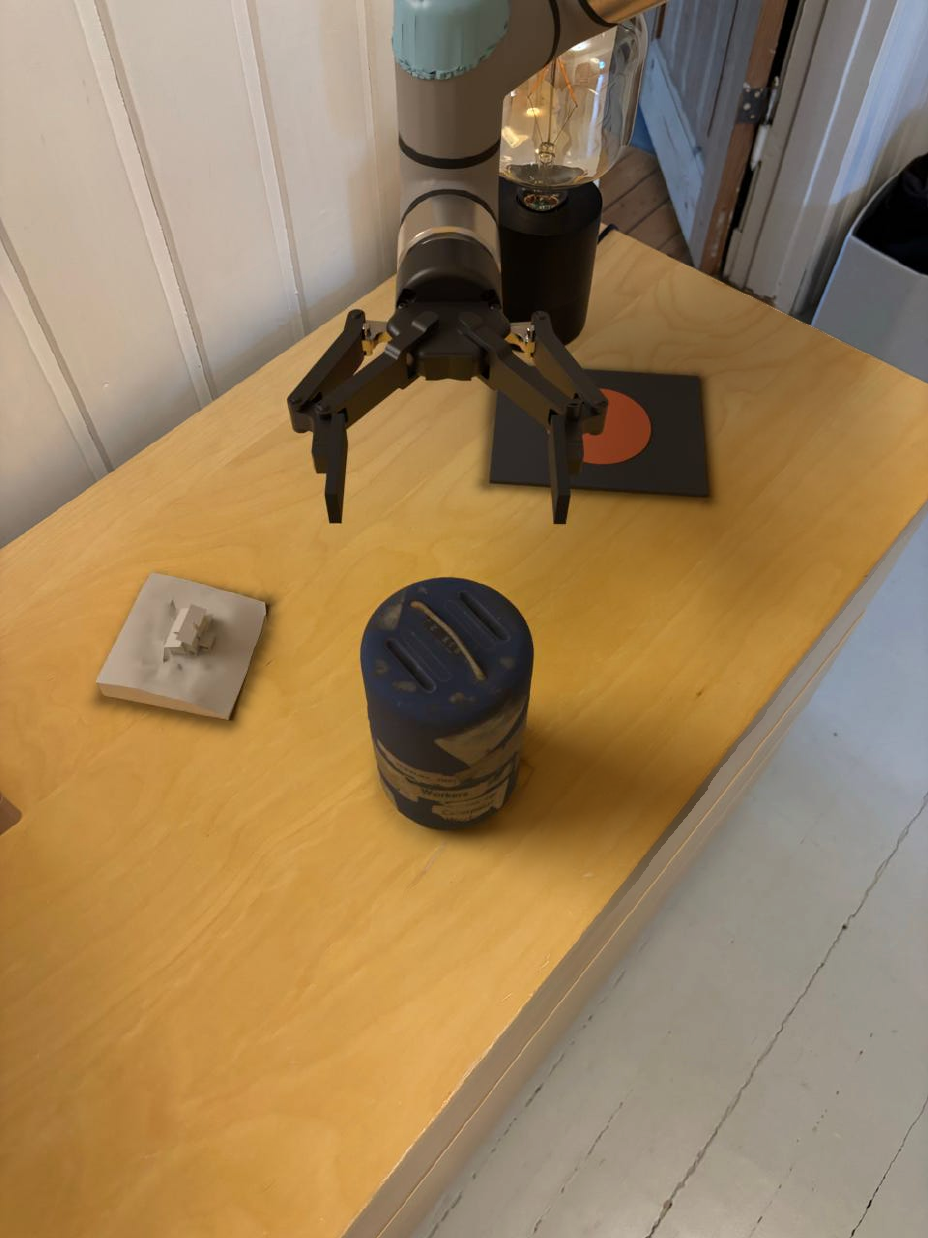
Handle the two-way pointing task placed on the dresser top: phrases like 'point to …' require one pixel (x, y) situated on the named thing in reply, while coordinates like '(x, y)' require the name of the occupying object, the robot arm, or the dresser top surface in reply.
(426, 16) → the robot arm
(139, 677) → the miniature house
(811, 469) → the dresser top surface
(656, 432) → the mat
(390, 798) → the canister
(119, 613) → the dresser top surface
